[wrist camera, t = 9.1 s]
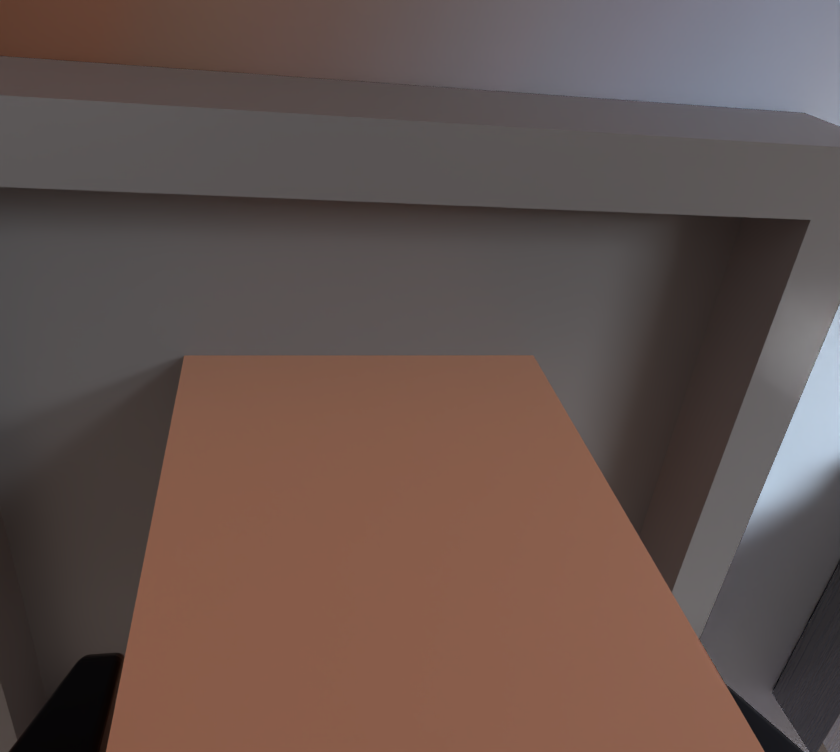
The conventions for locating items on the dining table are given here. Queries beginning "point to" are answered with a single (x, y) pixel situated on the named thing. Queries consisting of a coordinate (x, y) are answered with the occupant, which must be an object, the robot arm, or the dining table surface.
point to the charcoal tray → (386, 295)
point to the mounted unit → (816, 676)
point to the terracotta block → (400, 573)
